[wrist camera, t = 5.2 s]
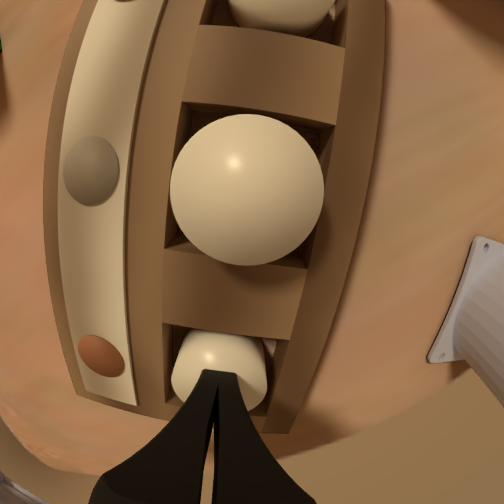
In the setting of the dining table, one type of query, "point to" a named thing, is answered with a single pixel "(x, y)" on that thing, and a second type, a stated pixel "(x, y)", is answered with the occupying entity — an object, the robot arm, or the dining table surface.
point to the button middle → (246, 189)
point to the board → (159, 203)
